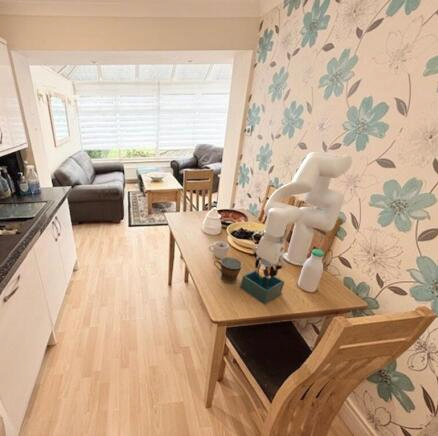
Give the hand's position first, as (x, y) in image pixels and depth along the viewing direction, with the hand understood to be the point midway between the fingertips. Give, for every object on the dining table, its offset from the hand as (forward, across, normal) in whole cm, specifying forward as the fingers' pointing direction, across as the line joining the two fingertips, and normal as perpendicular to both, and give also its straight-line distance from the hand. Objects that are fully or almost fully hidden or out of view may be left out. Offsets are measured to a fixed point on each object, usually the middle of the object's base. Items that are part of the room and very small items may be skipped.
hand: (265, 271), depth 108 cm
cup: (+11, +32, -5) cm, 34 cm away
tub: (+11, 0, 0) cm, 11 cm away
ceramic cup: (+11, +15, +7) cm, 20 cm away
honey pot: (+11, +58, -26) cm, 65 cm away
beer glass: (+10, 0, 0) cm, 10 cm away
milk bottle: (+11, -10, -21) cm, 26 cm away
